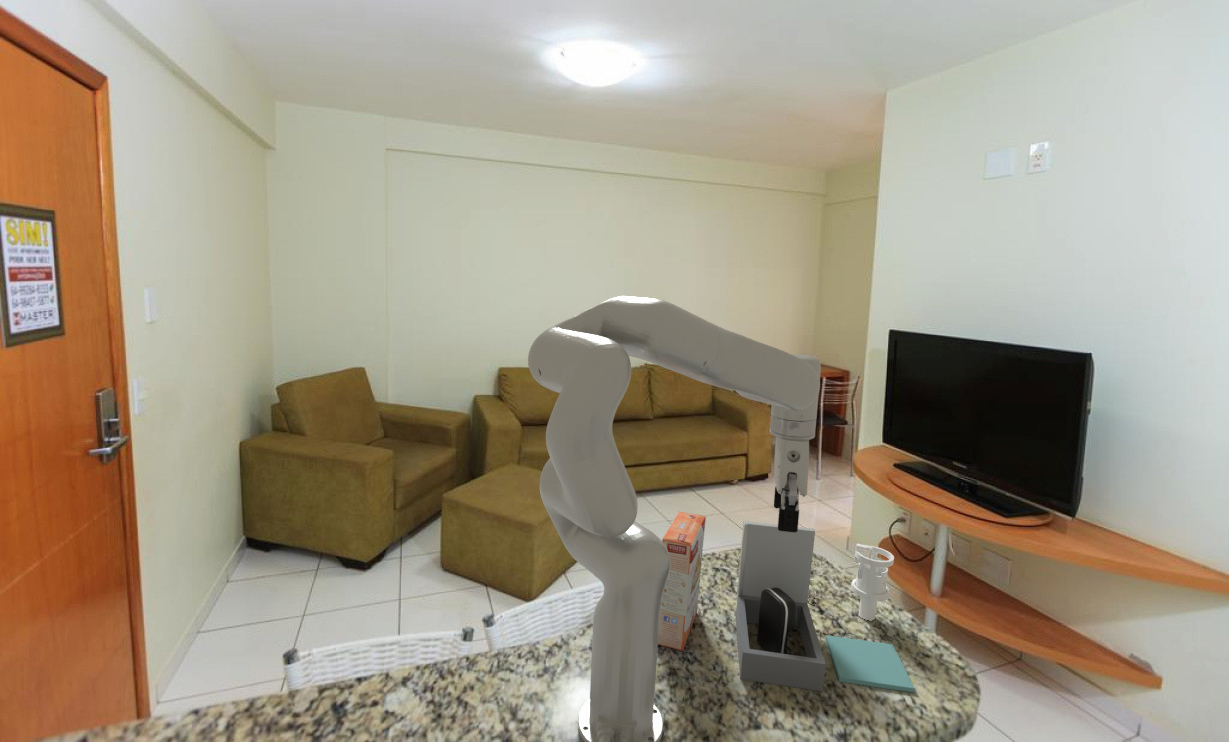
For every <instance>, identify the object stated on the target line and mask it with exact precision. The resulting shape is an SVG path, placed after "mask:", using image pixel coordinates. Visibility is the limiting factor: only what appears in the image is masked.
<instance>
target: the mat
mask: <svg viewBox="0 0 1229 742" xmlns="http://www.w3.org/2000/svg"><path fill="white" fill-rule="evenodd" d="M825 642H826V646H827V649H828V651H829V654H830V657H831V660H832V664H833V666H834V669H835V673H836V676H837V679H838V682H839V683H845V684H846V683H847V684H853V685H860V686H867V687H873V688H874V687H875V688H879V689H880V688H881V689H887V690H894V691H899V690H900V692H908V693H913V694H914V693H915V690H916V687H915V686H914V684H913V682H912V680H911V678H910V677H909V674H908V672H907V669H906V668H905V666H904V664H903V662H902V660H901V658H900V657H899V654H898V653H897V650H896V649H895V647H894V645H893V643H885V642H884V643H883V642H879V641H878V642H876V641H870V640H865V639H864V640H863V639H855V638H848V637H841V636H834V635H828V634H827V635H825Z"/></svg>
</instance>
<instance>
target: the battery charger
mask: <svg viewBox="0 0 1229 742" xmlns="http://www.w3.org/2000/svg"><path fill="white" fill-rule="evenodd" d="M796 622H797V605H796V603H795V602H794V600H793V599H792V598H790V597H789V596H788V595H787V594H786V593H785V592H783V591H782V590H781V589H779V588H766V589H764V590H763V591H762V593H761V599H760V609H759V624H757V627H758V629H757V637H756V641H757V643H758V644H759V645H760V646H761V648H762V649H764V650H763V651H768V652H775V653H782V654H789V653H788V650H787V648H788V639H789V635H790V633H791V631H793V630H796V629H795V628H796Z"/></svg>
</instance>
